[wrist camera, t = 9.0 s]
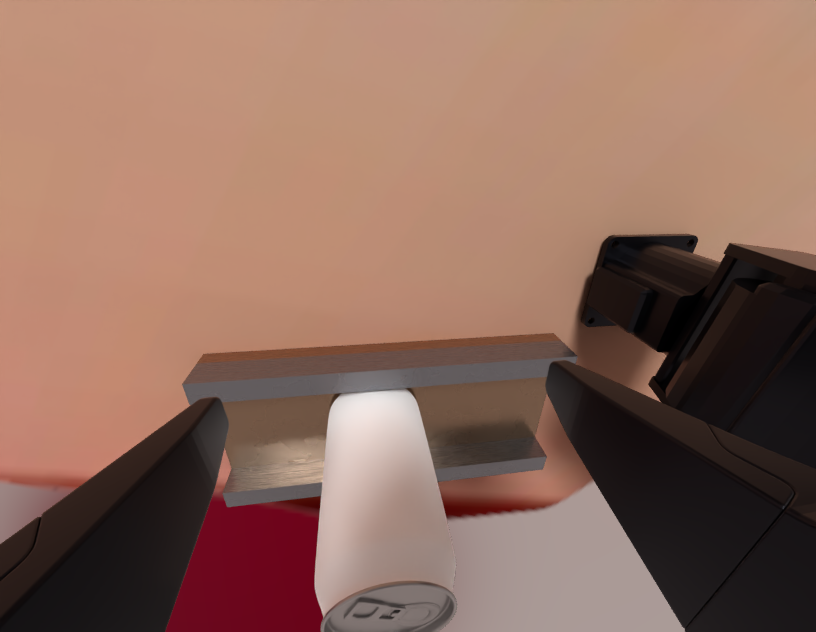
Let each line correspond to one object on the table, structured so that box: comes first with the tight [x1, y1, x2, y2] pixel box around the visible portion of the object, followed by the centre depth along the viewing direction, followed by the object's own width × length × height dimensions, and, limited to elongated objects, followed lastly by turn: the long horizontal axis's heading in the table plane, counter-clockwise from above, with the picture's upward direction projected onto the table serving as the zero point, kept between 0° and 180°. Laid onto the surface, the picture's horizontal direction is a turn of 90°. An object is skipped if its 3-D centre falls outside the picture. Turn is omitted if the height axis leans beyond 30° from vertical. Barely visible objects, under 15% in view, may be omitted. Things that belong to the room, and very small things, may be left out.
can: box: [315, 388, 457, 632], centre depth 19 cm, size 6×6×12 cm
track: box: [182, 333, 578, 507], centre depth 24 cm, size 24×11×3 cm, turn 89°
